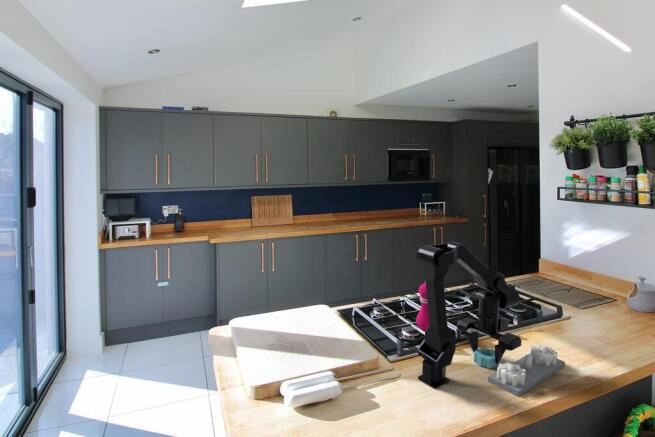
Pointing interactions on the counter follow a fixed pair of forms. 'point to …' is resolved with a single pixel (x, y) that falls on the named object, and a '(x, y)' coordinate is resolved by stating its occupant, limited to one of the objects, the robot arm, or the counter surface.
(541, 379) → the gear board
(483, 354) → the teal gear
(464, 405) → the counter surface
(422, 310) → the pepper mill
